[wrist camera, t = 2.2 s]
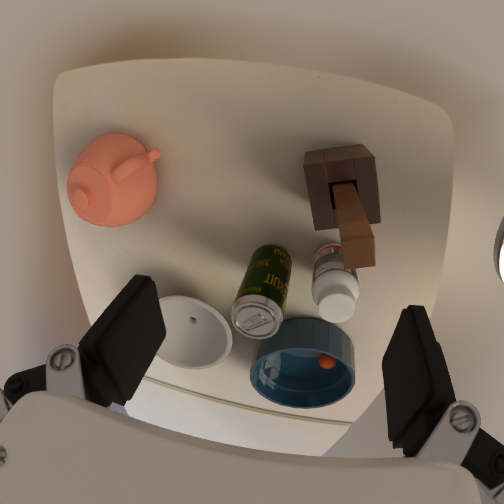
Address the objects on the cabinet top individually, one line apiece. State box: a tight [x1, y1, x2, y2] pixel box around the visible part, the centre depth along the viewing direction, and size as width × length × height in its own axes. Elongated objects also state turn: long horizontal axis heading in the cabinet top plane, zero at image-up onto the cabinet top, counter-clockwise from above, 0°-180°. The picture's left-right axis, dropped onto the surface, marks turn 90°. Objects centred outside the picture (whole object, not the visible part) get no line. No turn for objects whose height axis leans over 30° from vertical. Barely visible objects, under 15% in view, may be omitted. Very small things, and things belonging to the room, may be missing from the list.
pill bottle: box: [312, 243, 359, 323], centre depth 34 cm, size 5×5×10 cm
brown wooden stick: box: [331, 180, 375, 270], centre depth 25 cm, size 2×2×18 cm
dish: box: [156, 295, 232, 369], centre depth 46 cm, size 18×14×5 cm
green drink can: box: [231, 244, 292, 339], centre depth 34 cm, size 5×5×12 cm
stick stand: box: [303, 144, 381, 231], centre depth 29 cm, size 7×7×7 cm
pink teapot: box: [67, 133, 161, 227], centre depth 33 cm, size 12×14×10 cm
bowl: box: [250, 319, 355, 409], centre depth 44 cm, size 16×16×6 cm
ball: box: [319, 353, 337, 369], centre depth 44 cm, size 3×3×3 cm
